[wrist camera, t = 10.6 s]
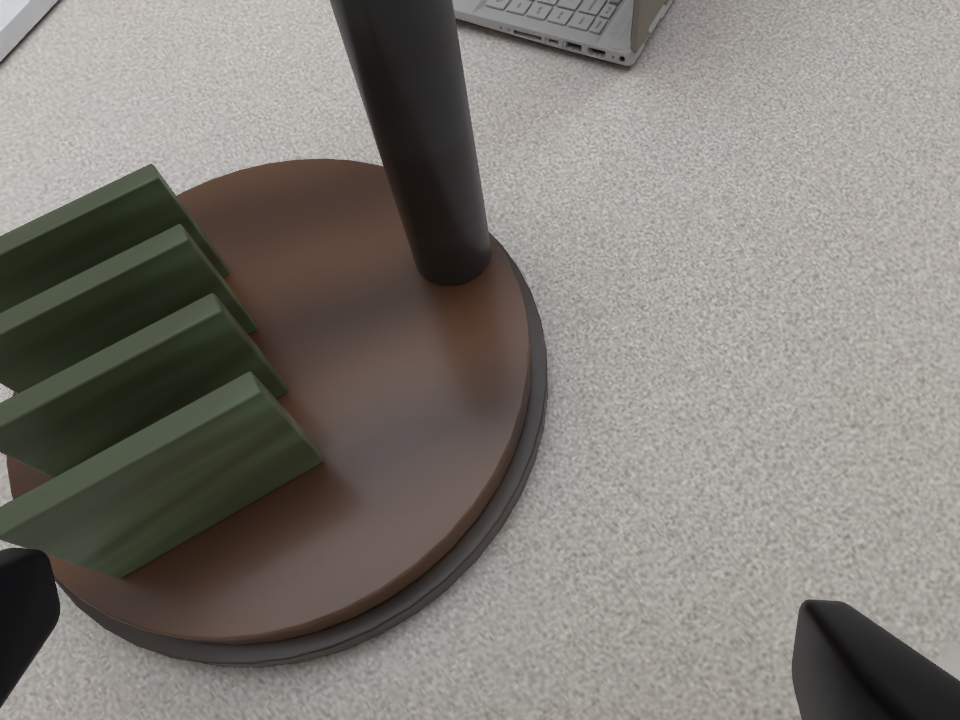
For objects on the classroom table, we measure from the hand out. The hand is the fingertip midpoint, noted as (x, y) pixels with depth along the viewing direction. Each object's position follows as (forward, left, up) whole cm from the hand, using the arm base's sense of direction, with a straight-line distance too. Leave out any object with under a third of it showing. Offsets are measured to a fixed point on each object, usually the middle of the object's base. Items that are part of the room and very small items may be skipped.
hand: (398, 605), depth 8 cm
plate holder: (+9, +8, -11) cm, 16 cm away
